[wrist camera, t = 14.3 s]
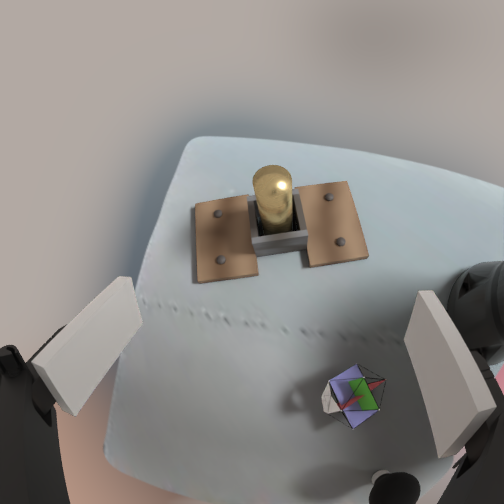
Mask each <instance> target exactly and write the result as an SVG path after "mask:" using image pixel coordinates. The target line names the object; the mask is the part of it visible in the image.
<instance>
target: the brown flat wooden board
mask: <svg viewBox="0 0 504 504" xmlns="http://www.w3.org/2000/svg"><path fill="white" fill-rule="evenodd" d="M292 212H294V217H295V222H296V227H297V231H293V232H287V233H280V234H273V235H267V236H260V234H259V227H258V219H257V217H260V214H259V209H258V205H257V200H256V196H255V195H252V196H249V195H242V196H236V197H230V198H224V199H218V200H213V201H207V202H202V203H197V204H195V219H196V254H197V277H198V282H199V283H207V282H215V281H222V280H230V279H237V278H244V277H251V276H258V275H259V274H258V265H257V257H260V256H267V255H273V254H280V253H287V252H293V251H300V250H307V254H308V259H309V265H310V268H312V267H318V266H324V265H331V264H337V263H343V262H349V261H355V260H361V259H367V258H368V257H369V254H368V250H367V246H366V243H365V239H364V235H363V232H362V228H361V225H360V221H359V218H358V214H357V211H356V208H355V204H354V201H353V198H352V195H351V192H350V189H349V186H348V183H347V181H342V182H333V183H325V184H317V185H309V186H301V187H295V189H292Z"/></svg>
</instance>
